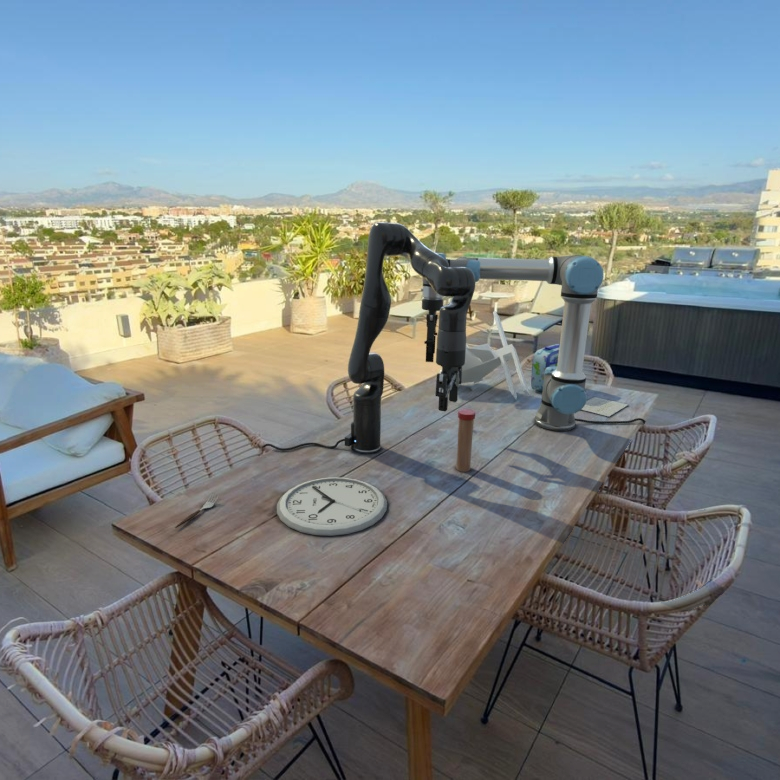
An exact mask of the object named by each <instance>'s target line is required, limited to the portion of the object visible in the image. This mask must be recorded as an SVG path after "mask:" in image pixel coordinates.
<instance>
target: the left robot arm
mask: <svg viewBox="0 0 780 780" xmlns="http://www.w3.org/2000/svg"><path fill="white" fill-rule="evenodd" d="M366 249H367V251H366V263H365V276H364V280H363V281H364V282H363V289H362V294H361V299H360V305H359V310H358V319H357V325H356V330H355V336H354V340H353V344H352V348H351V352H350V354H349V358H348V362H347V363H348V364H347V374H348V377H349V379H350V381H351V382H352V383H353V384H356V385H361V386H360V387H359V388H358V389H356V390H355V391H354V393H353V395H352V401H353V403H352V404H353V406H352V407H353V408H352V410H353V411H352V413H353V415H352V416H353V417H352V419H353V421H352V422H351V423H350V433H348V434H347V435H345V436H344V438H342V439H339V440H337V441H336V443H335V444H334V445H331V446H329V445H324V444H321V443H317V442H304V443H301V444H297V445H294V446H292V447H284V448H283V447H278V446H276V445H274V444H272V443H265V444H263V445H262V446H261V448H262V449H263V448H264V449H265V448H266V447H270V448H273V449H275V450H276V451H277V450H278V451H282V452H283V451H290V450H295V449H298V448H301V447H305V446H318V447H320V448H323V449H325V448H326V449H335V448H337V447H338V445H339V444H341V443H342V442H344V447H350V449H351V450H353V451H355V452H356V453H358V454H367V455H368V454H369V455H370V454H376V453H378V452H379V451H380V450H381V447H382V446H381V436H382V435H381V427H382V425H381V423H382V422H381V419H382V417H381V416H382V397H383V394H384V385H385V364H384V360H383V358H382V356H381V354H379V353H376V352H371V350H372V346H373V345H374V343H375V341H376V340H377V338H378V337H379V336H380V334H381V333H382V331H383V330H384V328H385V326H386V325H387V323H388V321H389V317H390V312H391V306H392V297H391V293H390V290H389V287H388V285H387V283H386V280H385V278H384V277H385V276H384V272H383V271H384V261H385V260H384V259H385V257H399V256H400V257H403V258H406V259H409V262H410V266H411V268H412V269H413V271H414V272H415V273H416V274H418V275H419V276H420V277H422V279H423V278H425V279H426V280H428V282H429V284H430V285H431V287H432V288H433V290H434V291H435V292H436V293H437V294H439V295H441V296H444V297H445V298H449V297H452V298H451V301H450V303H448V304H446V305H443V307H442V308H441V309H440V311H438V326H437V327H438V329H437V335H436V348H435V364H436V365H437V366H440V367H441V369H442V372H441V373H440V372H439V373H436V381H435V382H436V383H435V397H438V408H437V409H438V411H439V412H447V411H448V406H449V405H448V404H449V403H448V402H452V403H456V402H458V397H459V388H460V385H462V383H461V382H462V381H461V380H462V366H463V365H464V364H465V353H466V344H467V320H468V319H467V318H468V317H467V315H468V311H469V309H470V306H471V302H472V299H473V297H474V293H475V290H476V284H477V282H476V281H475V276H474V274H473V272H472V271H471V269H469V268H466V267H456V268H449V264H448V262H447V261H446V260H445V259H444V258H443V257H441V256H440V255H438V254H436V253H437V252H435V251H433V250H432V249H430V248H428V247H427V246H426V245H424V243H422V242H421V240H419V239H418V237H416V236H415V235H414V234H413V233H412V231H410V230H409V229H408V228H407V227H406V226H405V225H403V224H401V223H395V222H379V221H378V222H375V223H373V224H372V225H371V227H370V229H369V233H368V239H367V247H366ZM444 297H443V298H444Z"/></svg>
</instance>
